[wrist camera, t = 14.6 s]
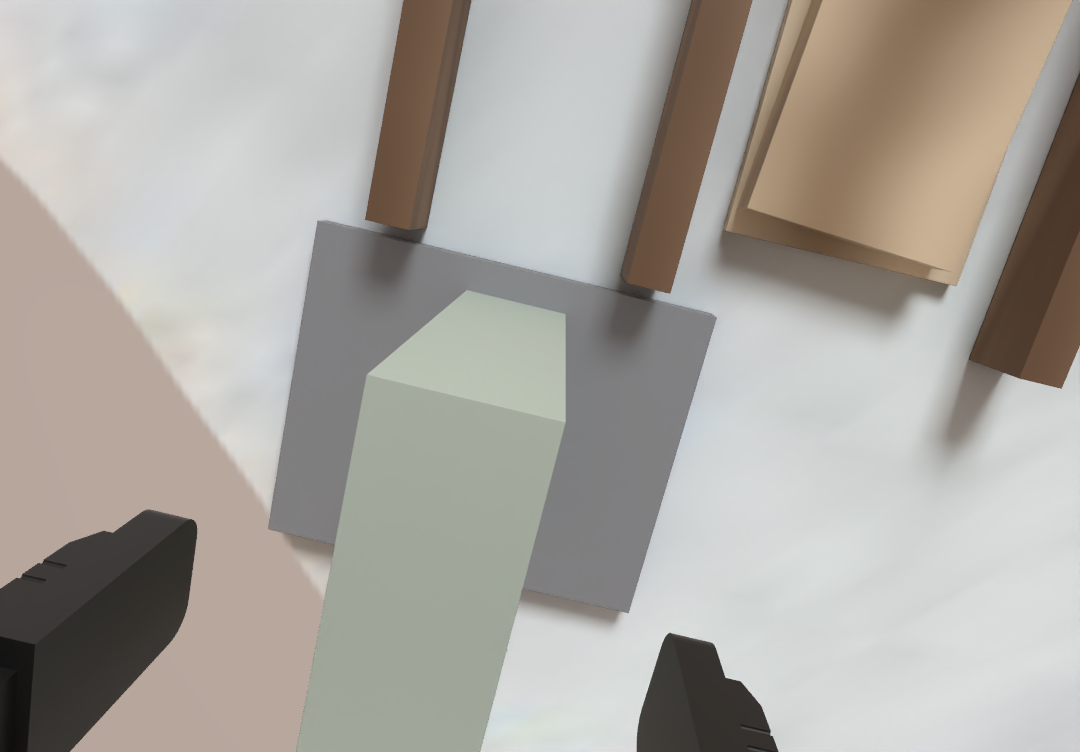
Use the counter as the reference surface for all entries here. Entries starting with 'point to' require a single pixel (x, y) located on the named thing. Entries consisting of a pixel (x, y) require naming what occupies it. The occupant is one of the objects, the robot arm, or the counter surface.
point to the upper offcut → (899, 119)
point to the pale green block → (437, 530)
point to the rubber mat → (591, 398)
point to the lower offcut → (798, 236)
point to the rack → (678, 167)
